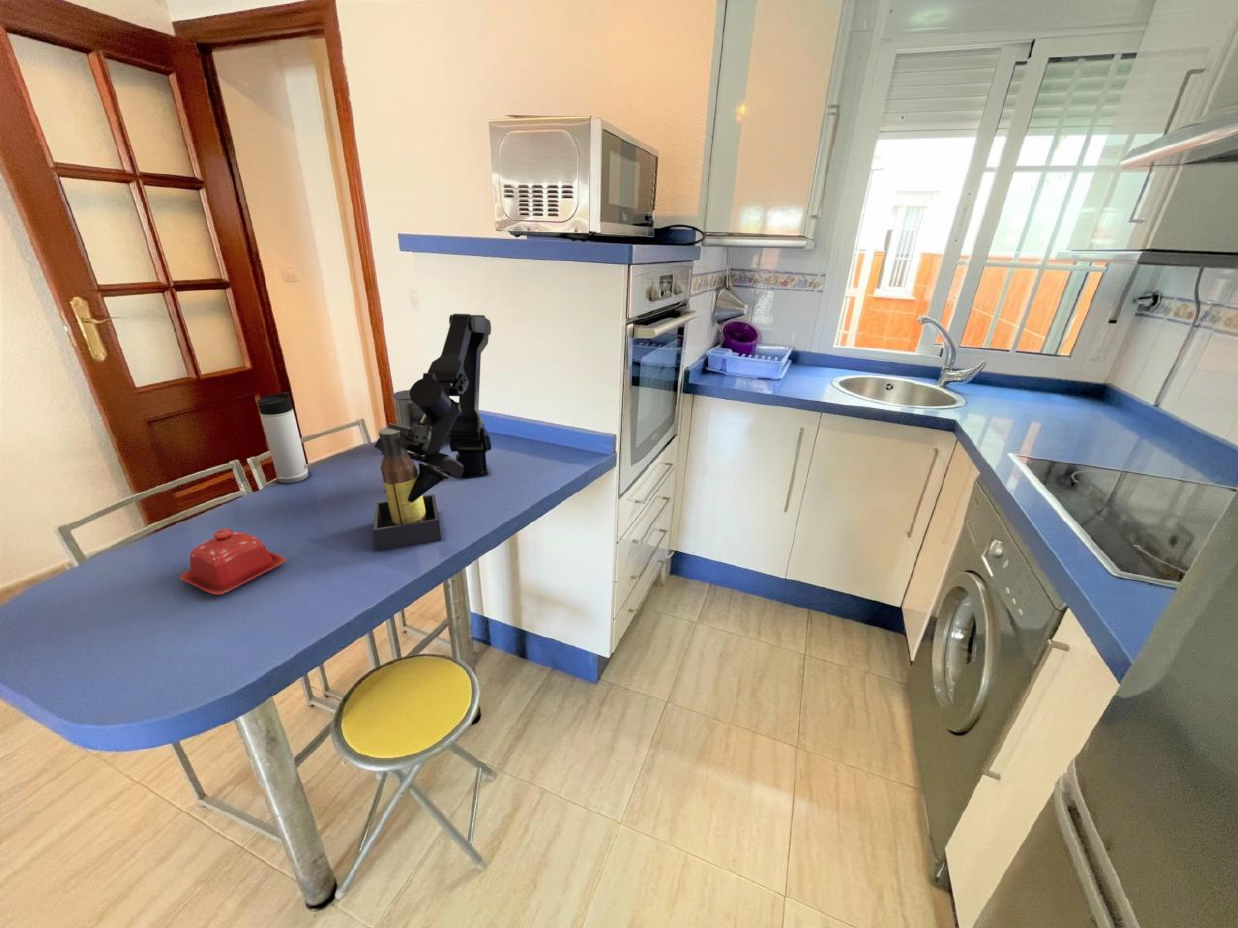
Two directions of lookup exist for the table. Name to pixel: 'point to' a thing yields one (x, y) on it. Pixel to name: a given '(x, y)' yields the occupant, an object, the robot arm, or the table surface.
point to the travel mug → (283, 437)
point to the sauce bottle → (400, 480)
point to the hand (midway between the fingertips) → (398, 497)
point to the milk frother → (406, 409)
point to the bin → (406, 527)
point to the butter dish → (229, 562)
